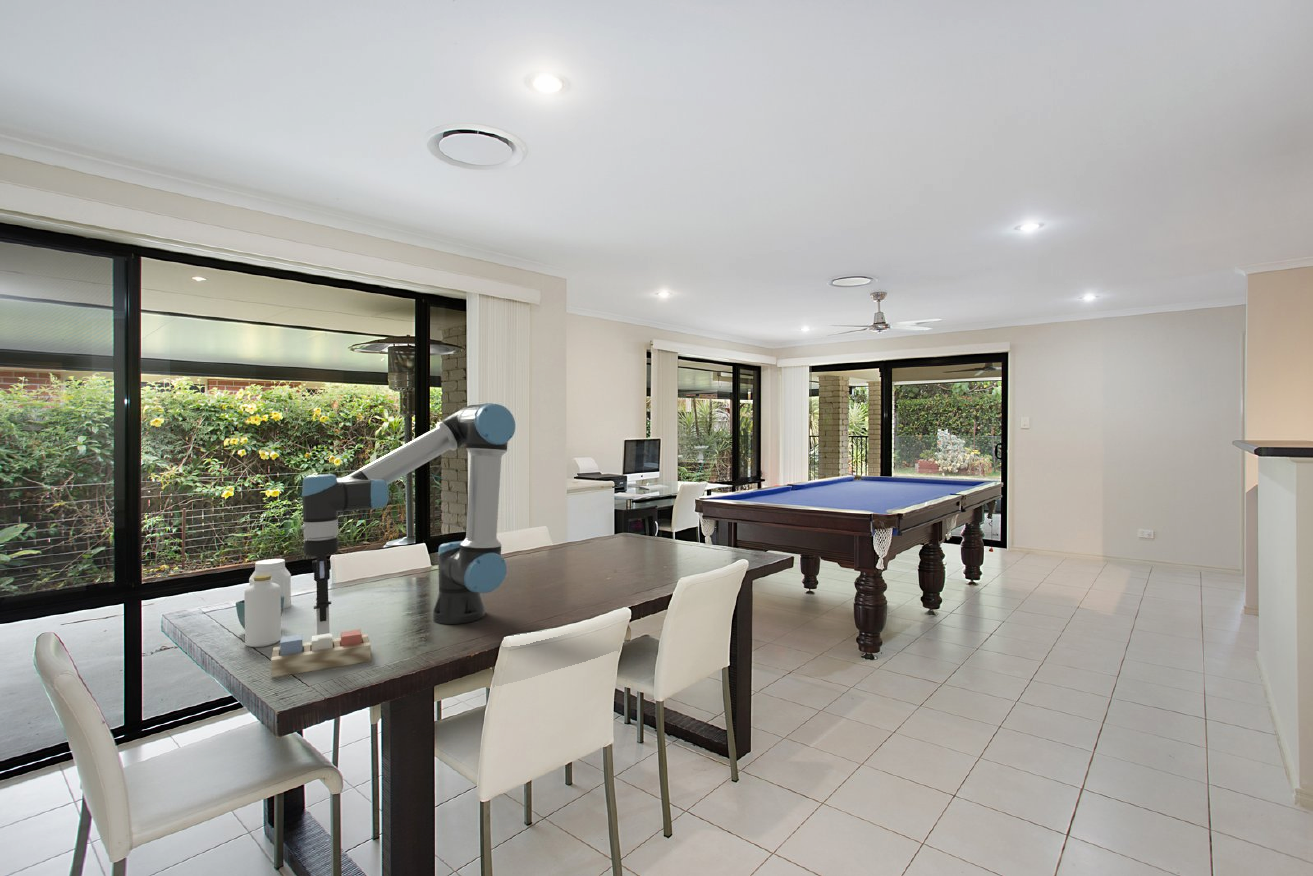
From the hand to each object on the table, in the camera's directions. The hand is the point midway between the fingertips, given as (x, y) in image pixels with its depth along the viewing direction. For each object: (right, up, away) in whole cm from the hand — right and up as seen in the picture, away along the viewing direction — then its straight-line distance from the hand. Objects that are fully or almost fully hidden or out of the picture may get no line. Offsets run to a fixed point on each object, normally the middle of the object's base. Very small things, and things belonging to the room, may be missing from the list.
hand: (323, 633), depth 156 cm
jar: (-43, -7, +49) cm, 66 cm away
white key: (0, -6, 0) cm, 6 cm away
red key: (+6, -6, +3) cm, 9 cm away
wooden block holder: (0, -7, 0) cm, 7 cm away
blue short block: (-6, -5, -3) cm, 8 cm away
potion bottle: (-24, -7, +14) cm, 29 cm away
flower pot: (-31, -7, +26) cm, 41 cm away
